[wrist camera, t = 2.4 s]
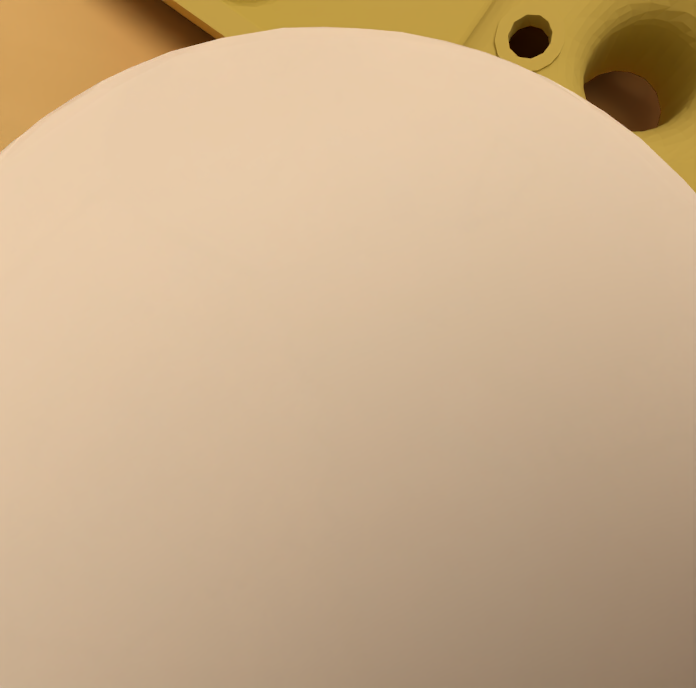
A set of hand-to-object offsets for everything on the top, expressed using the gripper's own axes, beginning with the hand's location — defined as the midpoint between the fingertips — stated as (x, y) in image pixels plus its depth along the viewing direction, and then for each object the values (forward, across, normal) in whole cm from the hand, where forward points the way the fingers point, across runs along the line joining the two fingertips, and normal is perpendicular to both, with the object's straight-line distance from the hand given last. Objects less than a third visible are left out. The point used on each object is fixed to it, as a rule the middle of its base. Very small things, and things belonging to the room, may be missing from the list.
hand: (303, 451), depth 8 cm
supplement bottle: (+5, 0, +6) cm, 8 cm away
